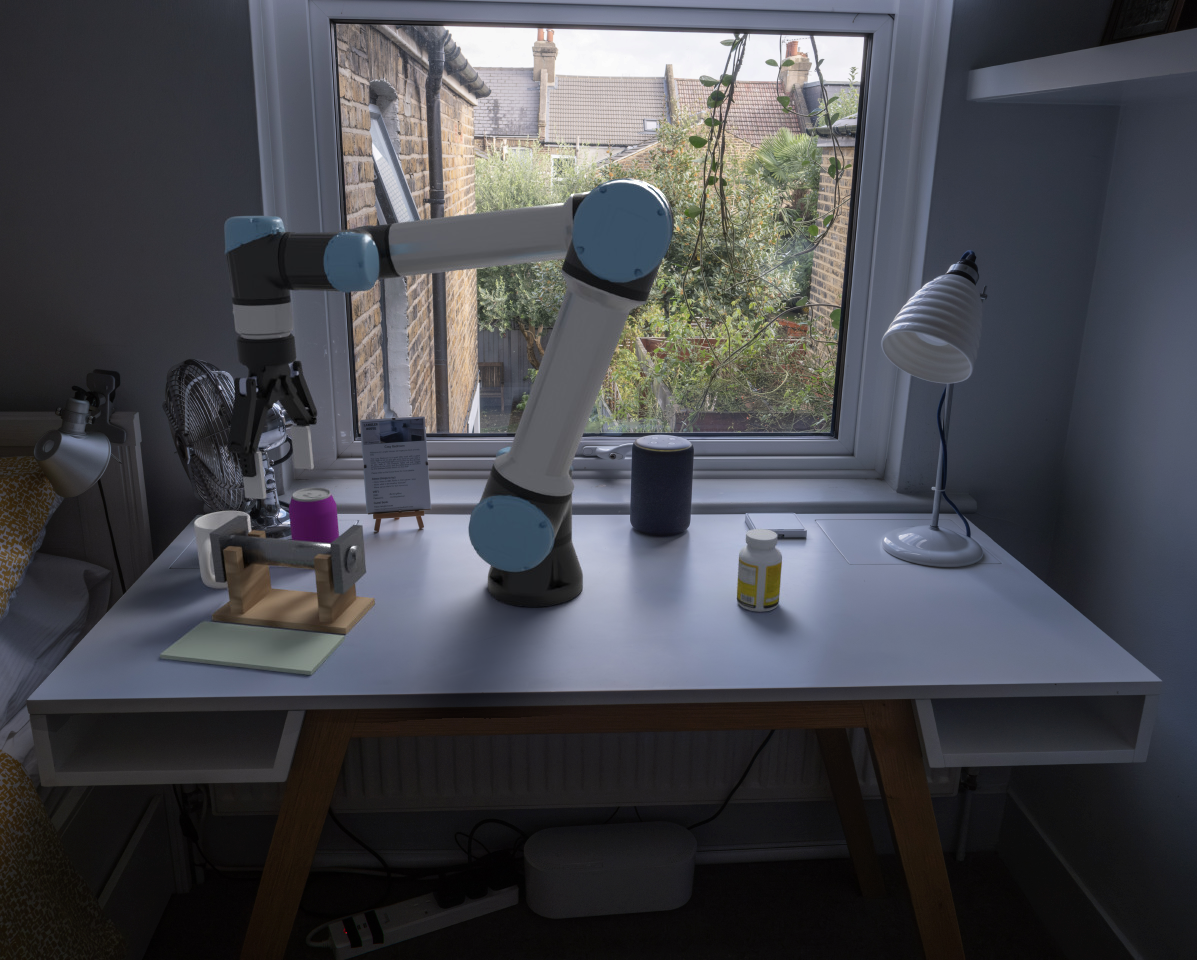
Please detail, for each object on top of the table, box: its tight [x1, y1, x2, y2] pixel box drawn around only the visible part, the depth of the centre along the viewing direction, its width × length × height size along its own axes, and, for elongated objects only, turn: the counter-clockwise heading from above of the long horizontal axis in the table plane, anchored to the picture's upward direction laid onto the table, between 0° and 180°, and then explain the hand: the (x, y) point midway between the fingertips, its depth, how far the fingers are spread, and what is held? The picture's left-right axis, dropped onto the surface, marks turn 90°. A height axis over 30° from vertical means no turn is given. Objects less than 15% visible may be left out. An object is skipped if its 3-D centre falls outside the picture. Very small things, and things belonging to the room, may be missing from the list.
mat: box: [159, 620, 346, 676], centre depth 128 cm, size 22×10×1 cm, turn 79°
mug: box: [193, 510, 252, 590], centre depth 147 cm, size 12×8×10 cm
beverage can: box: [288, 487, 340, 543], centre depth 156 cm, size 8×8×12 cm
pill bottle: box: [736, 528, 783, 613], centre depth 141 cm, size 6×6×12 cm
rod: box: [209, 515, 367, 594], centre depth 136 cm, size 21×8×8 cm, turn 79°
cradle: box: [211, 529, 376, 635], centre depth 137 cm, size 21×10×11 cm, turn 79°
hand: (281, 482), depth 133 cm, fingers open, 13 cm apart
